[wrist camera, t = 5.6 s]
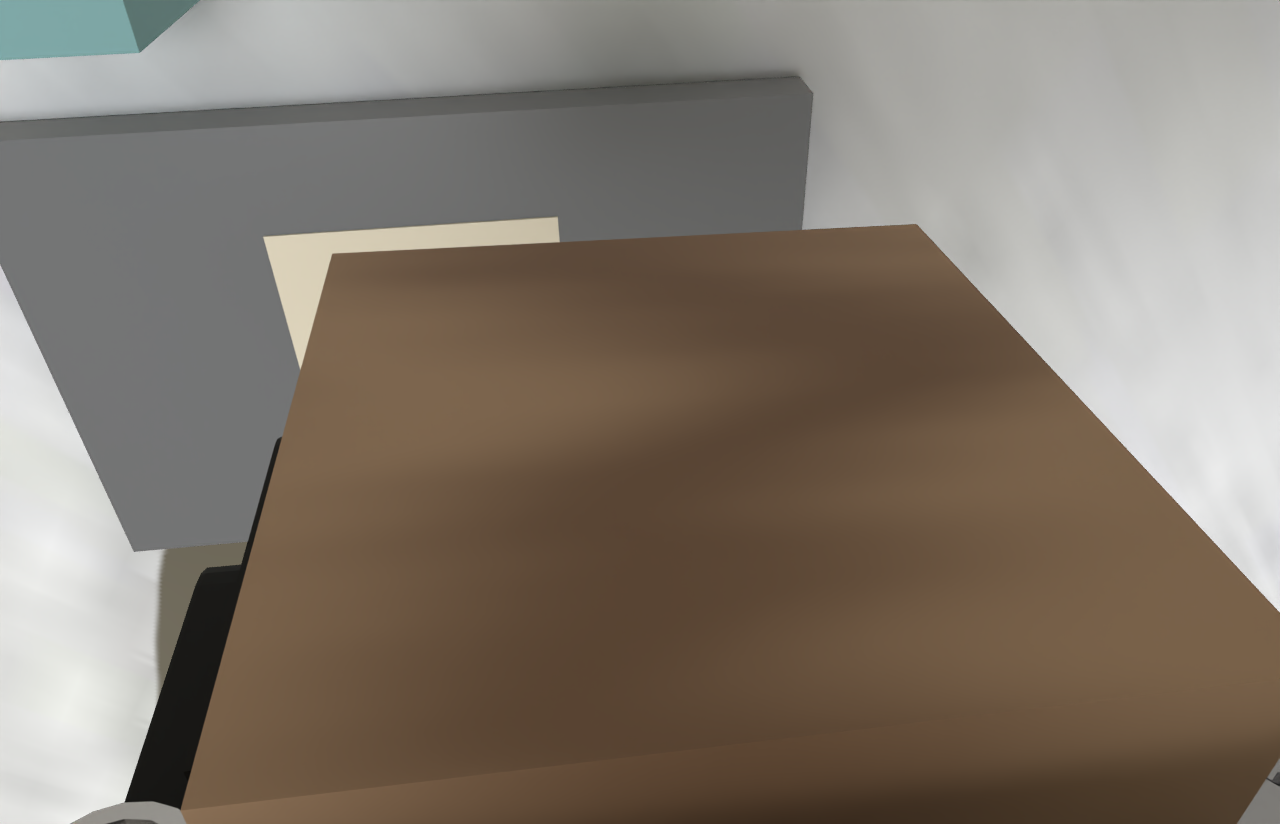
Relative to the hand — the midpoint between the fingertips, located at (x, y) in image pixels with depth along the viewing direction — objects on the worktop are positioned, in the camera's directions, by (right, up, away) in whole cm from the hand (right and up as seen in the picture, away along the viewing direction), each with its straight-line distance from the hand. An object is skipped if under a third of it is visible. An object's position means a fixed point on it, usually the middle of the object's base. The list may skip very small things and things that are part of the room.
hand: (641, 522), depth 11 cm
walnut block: (0, +1, +1) cm, 1 cm away
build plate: (-6, +4, +19) cm, 20 cm away
